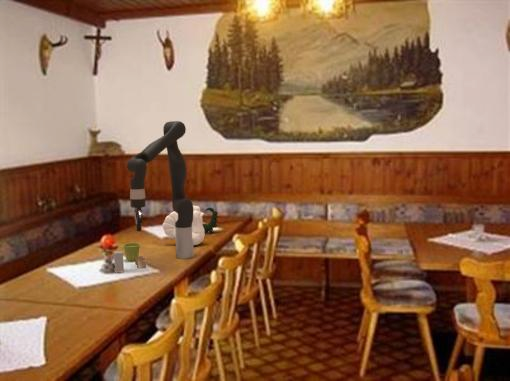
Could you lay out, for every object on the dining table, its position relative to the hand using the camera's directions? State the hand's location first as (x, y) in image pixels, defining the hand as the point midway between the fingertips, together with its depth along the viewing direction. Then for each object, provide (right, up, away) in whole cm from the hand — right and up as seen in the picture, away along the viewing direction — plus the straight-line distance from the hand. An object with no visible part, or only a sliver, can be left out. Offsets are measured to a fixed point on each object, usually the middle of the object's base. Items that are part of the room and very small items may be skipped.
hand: (138, 231), depth 282 cm
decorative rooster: (+16, -13, +55) cm, 59 cm away
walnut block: (+2, -17, 0) cm, 17 cm away
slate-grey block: (-9, -20, -6) cm, 23 cm away
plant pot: (-7, -18, +18) cm, 26 cm away
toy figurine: (+22, -9, +93) cm, 96 cm away
